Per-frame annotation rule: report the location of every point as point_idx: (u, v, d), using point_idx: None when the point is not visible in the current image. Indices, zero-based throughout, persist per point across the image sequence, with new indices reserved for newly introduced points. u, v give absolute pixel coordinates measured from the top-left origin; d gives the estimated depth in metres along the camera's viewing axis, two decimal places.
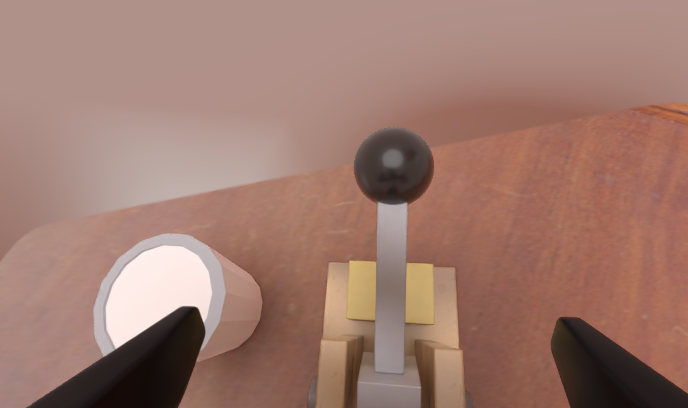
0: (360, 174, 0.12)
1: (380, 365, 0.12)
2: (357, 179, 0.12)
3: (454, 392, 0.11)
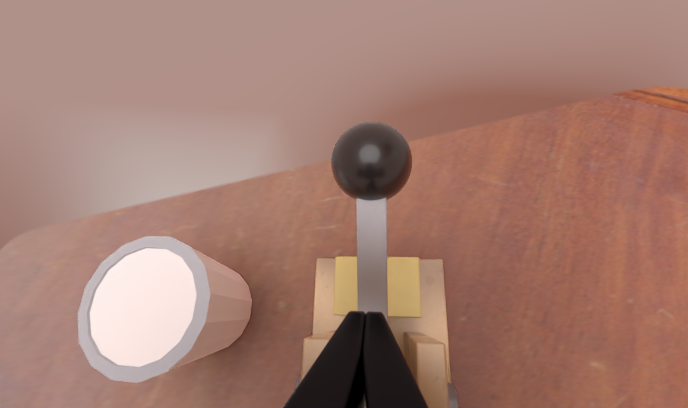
0: (337, 170, 0.12)
1: None
2: (335, 176, 0.12)
3: (437, 385, 0.11)
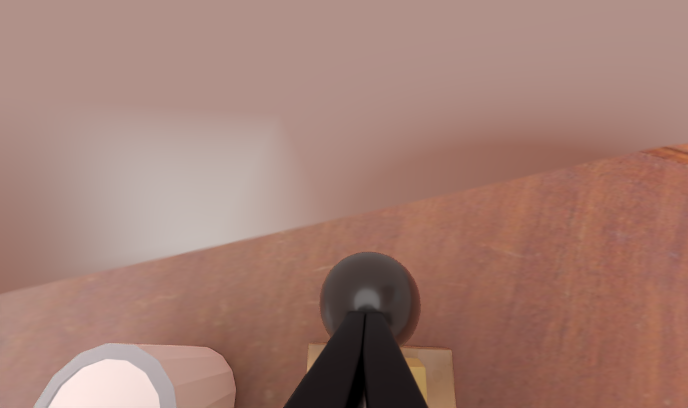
0: (326, 323, 0.09)
1: None
2: None
3: None
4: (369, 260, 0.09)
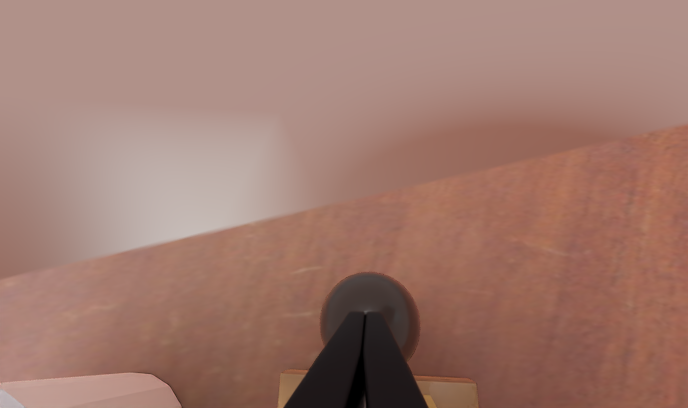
0: (326, 326, 0.09)
1: None
2: (322, 334, 0.10)
3: None
4: None
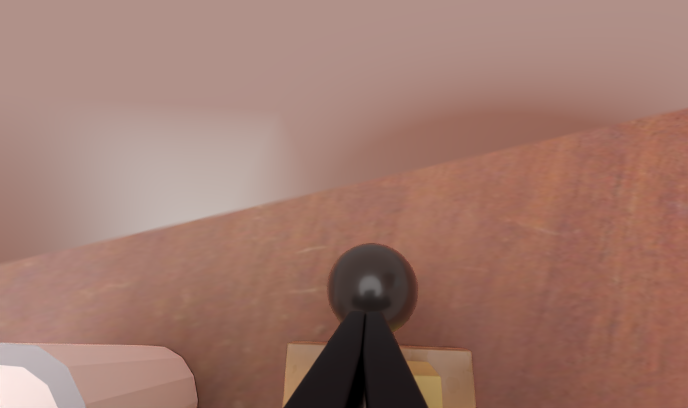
0: (333, 288, 0.10)
1: None
2: (330, 297, 0.11)
3: None
4: (373, 244, 0.11)
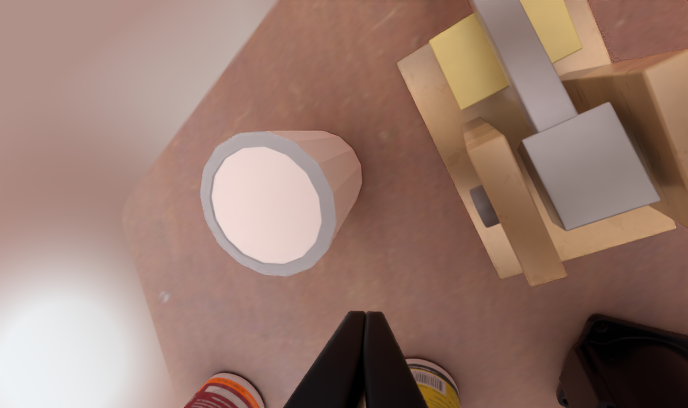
0: None
1: (542, 122, 0.10)
2: None
3: None
4: None
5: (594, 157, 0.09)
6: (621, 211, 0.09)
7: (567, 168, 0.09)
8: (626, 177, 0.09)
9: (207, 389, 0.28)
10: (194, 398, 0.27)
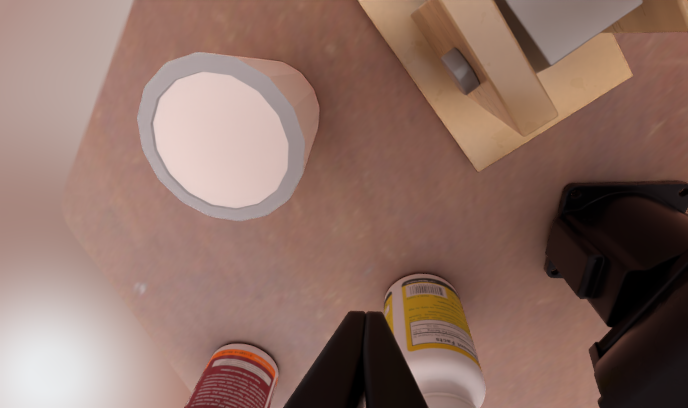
0: None
1: None
2: None
3: None
4: None
5: None
6: (604, 26, 0.08)
7: None
8: None
9: (214, 364, 0.27)
10: (203, 376, 0.26)
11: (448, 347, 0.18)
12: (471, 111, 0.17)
